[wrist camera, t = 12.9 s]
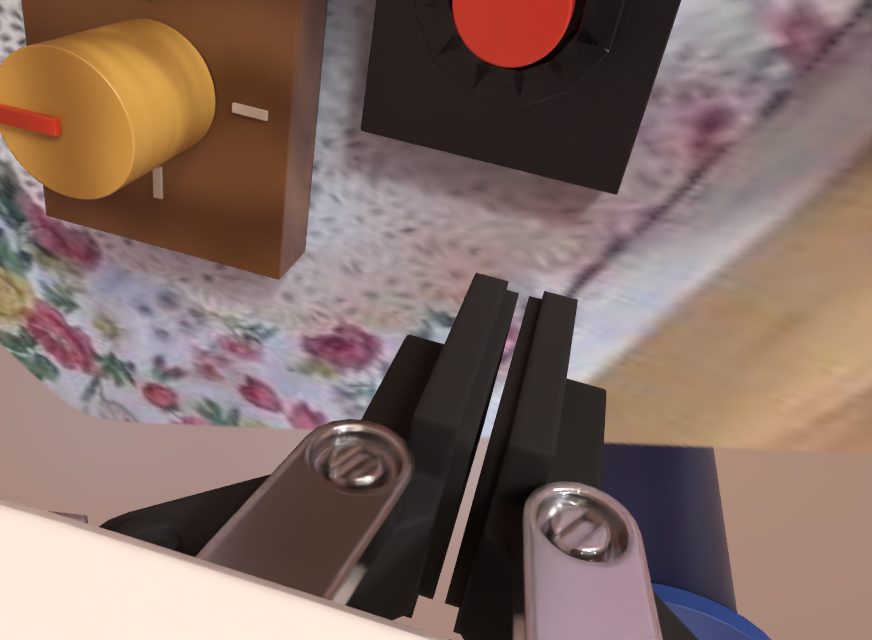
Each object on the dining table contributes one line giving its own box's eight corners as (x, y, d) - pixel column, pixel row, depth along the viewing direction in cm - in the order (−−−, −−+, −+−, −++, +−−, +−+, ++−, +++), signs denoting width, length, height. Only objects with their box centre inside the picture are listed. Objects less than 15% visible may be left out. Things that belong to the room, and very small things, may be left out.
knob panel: (305, 251, 34) (277, 282, 32) (87, 192, 35) (43, 217, 33) (336, -90, 27) (303, -88, 24) (59, -151, 28) (-1, -155, 25)
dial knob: (215, 33, 27) (123, 65, 22) (216, 163, 29) (133, 218, 25) (90, 5, 27) (-28, 31, 23) (101, 136, 30) (-2, 184, 25)
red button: (559, 68, 24) (554, 80, 23) (453, 43, 25) (441, 53, 23) (590, -52, 22) (586, -48, 21) (475, -77, 23) (464, -75, 21)
